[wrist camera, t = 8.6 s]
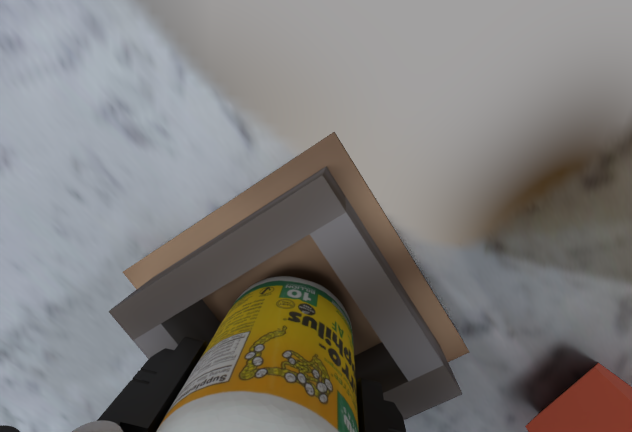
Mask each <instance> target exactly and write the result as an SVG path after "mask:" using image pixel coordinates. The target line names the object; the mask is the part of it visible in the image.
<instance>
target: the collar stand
mask: <svg viewBox="0 0 632 432" xmlns="http://www.w3.org/2000/svg"><path fill="white" fill-rule="evenodd" d="M123 273H124V274H125V276H126V277H127V278H128V279H129V281H130V282H131V283H132V284H133V286H134V287H135V288H136V289H137V290H136V291H134V292H133V293H132V294H131V295H129V296H128V297H127V298H125V299H124V300H123V301H121V302H120V303H119V304H118V305H116V306H115V307H114V308H112V309H111V310H110V311H109V313H110V314H111V315H112V316H113V317H114V319H115V320H116V321H117V322H118V323H119V324H120V326H121V327H122V328H123V329H124V330H125V332H126V333H127V334H128V335H129V336H130V338H131V339H132V340H133V341H134V342H135V344H136V345H137V346H138V347H139V348H140V350H141V351H142V352H143V353H144V354H145V355H146V357H147V358H148V359H149V358H150V357H151V356H153V355H155V354H156V353H158V352H160V351H161V350H163V349H165V348H167V349H171V350H175V349H176V347H177V346H178V345H179V343H180V342H181V341H182V340H183V338H184V337H191V338H195V339H199V340H204V341H207V347H208V345H209V343H210V342H211V340H212V338H213V337H214V335H215V333H216V331H217V329H218V328H219V326H220V325H221V323H222V321H223V320H224V318H225V317H226V315H227V313H228V312H229V310H230V309H231V307H232V306H233V304H234V303H235V301H236V300H237V299H238V297H239V296H240V295H241V294H242V293H243V292H244V291H245V290H247V289H248V288H249V287H251V286H252V285H254V284H255V283H257V282H259V281H262V280H264V279H266V278H270V277H278V276H291V277H297V278H301V279H305V280H308V281H312V282H314V283H317V284H319V285H322V286H323V287H324V288H326V289H327V290H329V291H330V292H331V293H332V294H333V295H334V296H335V297H336V298H337V299H338V300H339V301H340V302H341V304H342V305H343V307H344V308H345V310H346V312H347V314H348V316H349V318H350V321H351V326H352V334H353V346H354V362H355V379H356V384H357V381H358V379H359V378H364V379H368V380H372V381H377V382H380V383H381V385H382V391H383V398H384V400H386V401H390V402H394V403H395V405H396V406H397V408H398V410H399V411H400V413H401V414H402V416H403V420H405V419H407V418H409V417H412V416H414V415H416V414H418V413H421V412H423V411H425V410H427V409H430V408H432V407H434V406H437V405H439V404H441V403H443V402H446V401H448V400H450V399H452V398H455V397H457V396H459V395H462V392H461V390H460V388H459V385H458V383H457V381H456V379H455V377H454V375H453V372H452V370H451V368H450V366H449V364H448V362H449V361H452V360H454V359H456V358H458V357H460V356H462V355H464V354H467V353H469V350H468V349H467V347H466V345H465V344H464V342H463V340H462V338H461V337H460V335H459V333H458V332H457V330H456V328H455V327H454V325H453V323H452V322H451V320H450V319H449V317H448V315H447V314H446V312H445V311H444V309H443V307H442V306H441V304H440V302H439V301H438V299H437V298H436V296H435V294H434V293H433V291H432V289H431V288H430V286H429V285H428V283H427V281H426V280H425V278H424V276H423V275H422V273H421V272H420V270H419V268H418V267H417V265H416V263H415V262H414V260H413V259H412V257H411V255H410V254H409V252H408V250H407V249H406V247H405V246H404V244H403V242H402V241H401V239H400V237H399V236H398V234H397V233H396V231H395V229H394V228H393V226H392V224H391V223H390V221H389V220H388V218H387V216H386V215H385V213H384V212H383V210H382V208H381V207H380V205H379V203H378V202H377V200H376V199H375V197H374V195H373V194H372V192H371V190H370V189H369V187H368V186H367V184H366V182H365V181H364V179H363V177H362V176H361V175H360V173H359V171H358V169H357V168H356V166H355V164H354V163H353V161H352V160H351V158H350V156H349V155H348V153H347V152H346V150H345V148H344V147H343V145H342V143H341V142H340V140H339V139H338V137H337V135H336V134H335V132H333V133H332V134H330V135H329V136H327V137H326V138H324V139H323V140H321V141H320V142H318V143H317V144H315V145H314V146H312V147H311V148H309V149H308V150H306V151H305V152H303V153H302V154H300V155H299V156H297V157H295V158H294V159H292V160H291V161H289V162H288V163H286V164H285V165H283V166H282V167H280V168H279V169H277V170H276V171H274V172H273V173H271V174H270V175H268V176H267V177H265V178H264V179H262V180H261V181H259V182H258V183H256V184H255V185H253V186H252V187H250V188H249V189H247V190H246V191H244V192H243V193H241V194H240V195H238V196H237V197H235V198H234V199H232V200H231V201H229V202H228V203H226V204H225V205H223V206H222V207H220V208H219V209H217V210H216V211H214V212H212V213H211V214H209V215H208V216H206V217H205V218H203V219H202V220H200V221H199V222H197V223H196V224H194V225H193V226H191V227H190V228H188V229H187V230H185V231H184V232H182V233H181V234H179V235H178V236H176V237H175V238H173V239H172V240H170V241H169V242H167V243H166V244H164V245H163V246H161V247H160V248H158V249H157V250H155V251H154V252H152V253H151V254H149V255H148V256H146V257H145V258H143V259H142V260H140V261H139V262H137V263H136V264H134V265H133V266H131V267H129V268H128V269H126V270H125V271H123Z"/></svg>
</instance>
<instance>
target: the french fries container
mask: <svg viewBox="0 0 632 432" xmlns="http://www.w3.org/2000/svg"><path fill="white" fill-rule="evenodd" d="M525 427H526V428H527V430H528V431H529V432H632V387H631V386H630V385H628V384H627V383H625V382H624V381H623V380H621V379H620V378H619V377H617V376H616V375H615V374H613V373H612V372H610V371H609V370H608V369H606V368H605V367H604V366H602V365H601V364H599V363H597V364H596V365H595V366H594V367H593V368H592V369H590V370H589V371H588V372H587V373H586V374H585V375H583V376H582V377H581V378H580V379H579V380H577V381H576V382H575V383H574V384H573V385H572V386H570V387H569V388H568V389H567V390H566V391H565V392H563V393H562V394H561V395H560V396H559V397H558V398H556V399H555V400H554V401H553V402H552V403H550V404H549V405H548V406H547V407H546V408H545V409H543V410H542V411H541V412H540V413H539V414H538V415H537V416H536V417H535V418H534V419H533V420H531V421H530V422H529V423H528V424H527V425H526V426H525Z"/></svg>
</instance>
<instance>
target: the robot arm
mask: <svg viewBox="0 0 632 432" xmlns="http://www.w3.org/2000/svg"><path fill="white" fill-rule="evenodd" d="M206 348H207V341H204V340H199V339H195V338H191V337H184V338H183V340H182V341H181V342H180V343H179V345H178V346H177V347H176V349H175V350H171V349H167V348H165V349H163V350H161V351H160V352H158V353H156V354H155V355H153V356H151V357H150V358H149V360H148V361H147V362H146V363H145V364H144V366H143V367H142V368H141V370H140V371H138V373H137V374H136V375H135V376H134V377H133V380H132V381H130V382H129V383H128V385H127V386H126V387H125V388H124V389H123V390H122V392H121V393H120V394H119V395H118V396H117V398H116V399H115V400H114V401H113V402H112V403H111V405H110V406H109V407H108V408H107V409H106V411H105V412H104V413H103V414H102V415H101V417H100V418H99V419H98V420H97V421H94V422H90V423H87V424H85V425H82V426H80V427H78V428H77V429H75V430H74V431H72V432H156V431H157V429H158V427H159V426H160V424H161V422H162V420H163V419H164V417H165V415H166V413H167V412H168V410H169V409H170V407H171V406H172V404H173V402H174V401H175V399H176V398H177V396H178V394H179V393H180V391H181V389H182V388H183V386H184V384H185V383H186V381H187V379H188V378H189V376H190V374H191V373H192V371H193V369H194V368H195V366H196V364H197V363H198V361H199V360H200V358H201V356H202V355H203V353H204V352H205V350H206ZM356 390H357V411H358V426H359V432H406V429H405V425H404V420H403V416H402V414H401V413H400V411H399V410H398V408H397V406H396V405H395V403H394V402H390V401H386V400H384V398H383V391H382V385H381V383H380V382H377V381H372V380H368V379H364V378H359V379H358V381H357V384H356ZM0 432H20V431H19V430H18V429H16V428H14V427H11V426H0Z"/></svg>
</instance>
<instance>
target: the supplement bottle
mask: <svg viewBox="0 0 632 432" xmlns="http://www.w3.org/2000/svg"><path fill="white" fill-rule="evenodd" d="M156 432H359V426H358V411H357V390H356V379H355V362H354V346H353V334H352V326H351V321H350V318H349V316H348V314H347V312H346V310H345V308H344V307H343V305H342V304H341V302H340V301H339V300H338V299H337V298H336V297H335V296H334V295H333V294H332V293H331V292H330V291H329V290H327V289H326V288H324V287H323V286H322V285H319V284H317V283H314V282H312V281H308V280H305V279H301V278H297V277H291V276H278V277H270V278H266V279H264V280H262V281H259V282H257V283H255V284H254V285H252V286H251V287H249V288H248V289H247V290H245V291H244V292H243V293H242V294H241V295H240V296H239V297H238V299H237V300H236V301H235V303H234V304H233V306H232V307H231V309H230V310H229V312H228V313H227V315H226V317H225V318H224V320H223V321H222V323H221V325H220V326H219V328H218V329H217V331H216V333H215V335H214V337H213V338H212V340H211V342H210V343H209V345H208V347H207V348H206V350H205V352H204V353H203V355H202V356H201V358H200V360H199V361H198V363H197V364H196V366H195V368H194V369H193V371H192V373H191V374H190V376H189V378H188V379H187V381H186V383H185V384H184V386H183V388H182V389H181V391H180V393H179V394H178V396H177V398H176V399H175V401H174V402H173V404H172V406H171V407H170V409H169V410H168V412H167V413H166V415H165V417H164V419H163V420H162V422H161V424H160V426H159V427H158V429H157V431H156Z"/></svg>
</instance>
